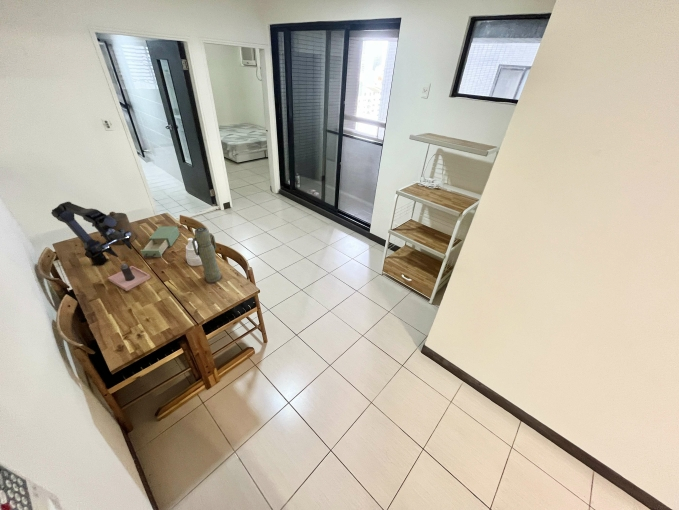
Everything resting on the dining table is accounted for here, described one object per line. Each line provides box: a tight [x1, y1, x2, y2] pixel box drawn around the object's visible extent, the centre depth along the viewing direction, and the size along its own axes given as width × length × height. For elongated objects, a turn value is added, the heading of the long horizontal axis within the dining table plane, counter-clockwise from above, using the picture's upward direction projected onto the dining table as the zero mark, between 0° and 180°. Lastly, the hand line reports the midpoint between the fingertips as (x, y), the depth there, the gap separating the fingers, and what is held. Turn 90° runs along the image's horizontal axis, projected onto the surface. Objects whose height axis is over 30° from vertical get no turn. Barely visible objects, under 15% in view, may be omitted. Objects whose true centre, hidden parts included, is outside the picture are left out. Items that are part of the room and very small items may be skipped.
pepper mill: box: [120, 263, 135, 281], centre depth 162 cm, size 5×5×11 cm
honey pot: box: [185, 237, 203, 267], centre depth 180 cm, size 13×13×18 cm
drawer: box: [140, 239, 169, 259], centre depth 187 cm, size 21×11×5 cm, turn 7°
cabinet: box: [148, 225, 180, 248], centre depth 201 cm, size 18×13×7 cm
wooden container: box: [106, 211, 137, 245], centre depth 194 cm, size 15×15×22 cm
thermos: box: [192, 226, 222, 284], centre depth 161 cm, size 9×12×35 cm
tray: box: [107, 265, 152, 292], centre depth 165 cm, size 17×14×2 cm
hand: (124, 253), depth 164 cm, fingers open, 9 cm apart
